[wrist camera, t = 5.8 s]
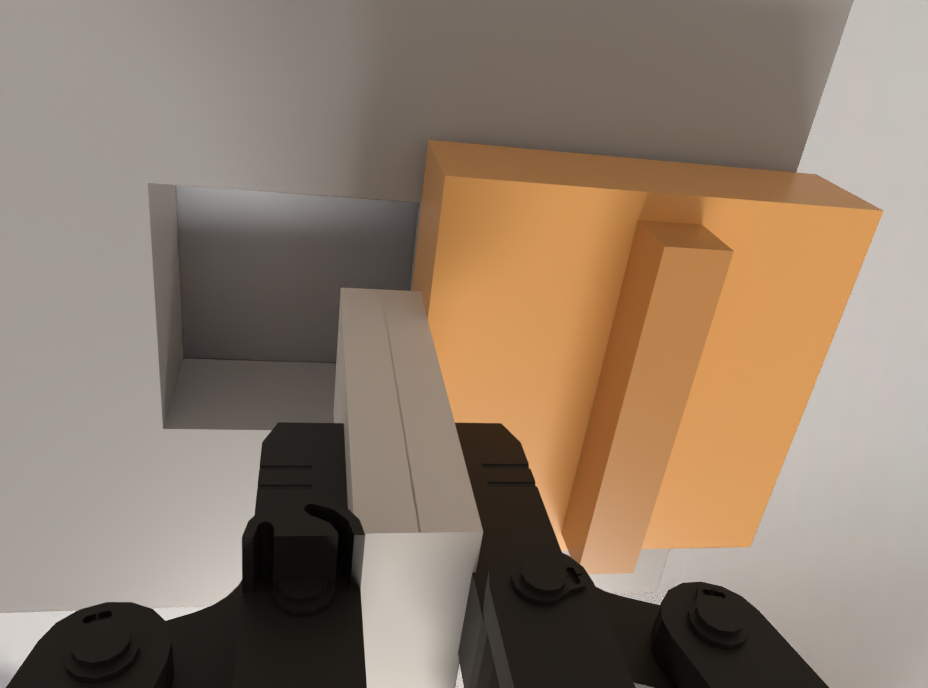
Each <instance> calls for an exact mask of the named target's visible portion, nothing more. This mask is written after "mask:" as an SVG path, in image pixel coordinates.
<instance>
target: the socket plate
mask: <svg viewBox="0 0 928 688" xmlns="http://www.w3.org/2000/svg"><path fill="white" fill-rule="evenodd" d="M852 3H853V0H0V613H14V612H45V611H77V610H80V609H83V608H87V607H91V606H94V605H98V604H102V603H105V602H133V603H136V604H139V605H142V606H145V607H148V608H171V607H203V606H212V605H214V604H215V603H217V602H219V601H220V600H222V599H223V598H225V597H227V596H228V595H229V594H230V593H231V592H232V591H233V590H234V589H235V588H236V587H237V586H238V585H239V584H240V582H241V581H242V535H243V533H244V531H245V528H246V526H247V523H248V521H249V520H250V519H251V518H252V517H253V516H254V515H255V505H256V496H257V489H258V477H259V470H260V458H261V448H262V442H263V441H264V439H265V438H266V437H267V436H268V434H269V433H270V432H271V431H272V429H273V428H274V427H275V426H276V424H277V423H278V422H291V423H334V394H335V377H336V363H313V362H279V361H246V360H212V359H183V337H182V314H181V292H180V269H179V247H178V225H177V202H176V185H182V186H196V187H210V188H224V189H238V190H251V191H265V192H279V193H293V194H307V195H320V196H334V197H348V198H362V199H376V200H389V201H403V202H417V203H419V207H418V217H417V226H416V235H415V245H414V254H413V264H412V273H411V283H410V291H412V285H413V275H414V266H415V257H416V247H417V238H418V229H419V219H420V210H421V201H422V192H423V182H424V173H425V164H426V154H427V145H428V140H436V141H447V142H458V143H469V144H481V145H492V146H503V147H514V148H525V149H537V150H548V151H559V152H570V153H581V154H593V155H604V156H615V157H626V158H638V159H649V160H660V161H671V162H682V163H694V164H705V165H716V166H727V167H738V168H750V169H761V170H772V171H783V172H794V173H796V171H797V168H798V165H799V162H800V159H801V156H802V153H803V150H804V147H805V144H806V141H807V138H808V135H809V132H810V129H811V126H812V123H813V120H814V117H815V114H816V111H817V108H818V105H819V102H820V99H821V96H822V93H823V90H824V87H825V84H826V81H827V78H828V75H829V72H830V69H831V66H832V63H833V60H834V57H835V54H836V51H837V48H838V45H839V42H840V39H841V36H842V33H843V30H844V27H845V24H846V21H847V18H848V15H849V12H850V9H851V6H852ZM669 551H670V549H641V551H640V555H639V558H638V561H637V564H636V567H635V571H634V573H622V574H588V575H589V576H590V578H591V579H592V581H593V582H594V585H595V586H596V587H598V588H600V589H602V590H604V591H606V592H609V593H644V592H656V590H657V587H658V584H659V581H660V578H661V575H662V572H663V569H664V566H665V563H666V560H667V557H668V554H669ZM562 553H564V554H566V555H569V556H570V554H569V552H568V551H562Z"/></svg>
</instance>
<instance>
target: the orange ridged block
mask: <svg viewBox="0 0 928 688" xmlns="http://www.w3.org/2000/svg"><path fill="white" fill-rule="evenodd" d="M882 213H883V210H881V209H879V208H877V207H875V206H874V205H872V204H870V203H868V202H866V201H864V200H862V199H861V198H859V197H857V196H855V195H853V194H851V193H850V192H848V191H846V190H844V189H842V188H840V187H838V186H837V185H835V184H833V183H831V182H829V181H827V180H826V179H824V178H822V177H820V176H818V175H816V174H806V173H794V172H783V171H772V170H761V169H750V168H738V167H727V166H716V165H705V164H694V163H682V162H671V161H660V160H649V159H638V158H626V157H615V156H604V155H593V154H581V153H570V152H559V151H548V150H537V149H525V148H514V147H503V146H492V145H481V144H469V143H458V142H447V141H436V140H428V145H427V154H426V164H425V173H424V182H423V192H422V201H421V210H420V219H419V229H418V238H417V247H416V257H415V266H414V275H413V285H412V291H420V292H421V296H422V300H423V304H424V308H425V311H426V315H427V319H428V323H429V327H430V330H431V334H432V338H433V342H434V346H435V350H436V353H437V357H438V361H439V365H440V369H441V372H442V376H443V380H444V384H445V388H446V392H447V395H448V399H449V403H450V407H451V411H452V414H453V418H454V422H455V423H501V424H502V425H503V426H505V427H506V428H507V429H508V430H509V431H510V432H511V433H512V434H513V435H514V436H515V437H516V438H517V439H518V440H519V441H520V442H521V444H522V447H523V450H524V452H525V455H526V458H527V461H528V463H529V468H530V469H531V471H532V474H533V477H534V479H535V486H536V487H538V490H539V493H540V495H541V498H542V501H543V503H544V506H545V509H546V511H547V514H548V517H549V519H550V522H551V525H552V527H553V530H554V533H555V535H556V538H557V541H558V543H559V546H560V549H561V551H568V552H569V554H570V557H571V558H572V559H574V560H575V561H576V562H578V563H579V564H580V565H581V566H583V567H584V569H585V570H586V572H587V573H588V574H622V573H634V571H635V567H636V564H637V561H638V558H639V555H640V551H641V549H670V548H721V547H750V546H751V543H752V541H753V538H754V536H755V533H756V531H757V528H758V526H759V523H760V521H761V518H762V516H763V513H764V511H765V508H766V506H767V503H768V501H769V498H770V496H771V493H772V490H773V488H774V485H775V483H776V480H777V478H778V475H779V473H780V470H781V468H782V465H783V463H784V460H785V458H786V455H787V453H788V450H789V448H790V445H791V443H792V440H793V438H794V435H795V433H796V430H797V427H798V425H799V422H800V420H801V417H802V415H803V412H804V410H805V407H806V405H807V402H808V400H809V397H810V395H811V392H812V390H813V387H814V385H815V382H816V380H817V377H818V375H819V372H820V370H821V367H822V364H823V362H824V359H825V357H826V354H827V352H828V349H829V347H830V344H831V342H832V339H833V337H834V334H835V332H836V329H837V327H838V324H839V322H840V319H841V317H842V314H843V312H844V309H845V307H846V304H847V301H848V299H849V296H850V294H851V291H852V289H853V286H854V284H855V281H856V279H857V276H858V274H859V271H860V269H861V266H862V264H863V261H864V259H865V256H866V254H867V251H868V249H869V246H870V243H871V241H872V238H873V236H874V233H875V231H876V228H877V226H878V223H879V221H880V218H881V216H882Z"/></svg>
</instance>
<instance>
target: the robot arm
mask: <svg viewBox="0 0 928 688" xmlns="http://www.w3.org/2000/svg"><path fill="white" fill-rule="evenodd" d="M459 663H460V667H461V673H462V678H463V683H464V688H829V687H828V686H827V685H826V684H825V683H824V682H823V680H822V679H821V678H820V677H819V676H818V675H817V674H816V673H815V672H814V671H813V670H812V668H811V667H810V666H809V665H808V664H807V663H806V662H805V661H804V660H803V659H802V657H801V656H800V655H799V654H798V653H797V652H796V651H795V650H794V649H793V648H792V647H791V645H790V644H789V643H788V642H787V641H786V640H785V639H784V638H783V637H782V636H781V634H780V633H779V632H778V631H777V630H776V629H775V628H774V627H773V626H772V625H771V624H770V622H769V621H768V620H767V619H766V618H765V617H764V616H763V615H762V614H761V613H760V611H758V610H757V609H756V608H755V607H754V606H753V605H751V604H750V603H749V602H748V601H747V600H745V599H744V598H743V597H742V596H740V595H738V594H736V593H734V592H732V591H730V590H728V589H726V588H724V587H722V586H717V585H713V584H708V583H704V582H691V583H682V584H680V585H678V586H676V587H674V588H672V589H670V590H668V592H667V594H666V595H665V597H664V599H663V600H662V602H661V605H656V604H652V603H647V602H643V601H639V600H635V599H630V598H626V597H622V596H618V595H615V594H612V593H609V592H606V591H604V590H602V589H600V588H598V587H596V586H595V585H594V582H593V581H592V579H591V578H590V576H589V575H588V573H587V572H586V570H585V569H584V567H583V566H581V565H580V564H579V563H578V562H576V561H575V560H574V559H572V558H571V557H570V556H569V555H566V554H564V553H562V551H561V549H560V546H559V543H558V541H557V538H556V535H555V533H554V530H553V527H552V525H551V522H550V519H549V517H548V514H547V511H546V509H545V506H544V503H543V501H542V498H541V495H540V493H539V490H538V487H536V486H535V479H534V477H533V474H532V471H531V469H530V468H529V463H528V461H527V458H526V455H525V452H524V450H523V447H522V444H521V442H520V441H519V440H518V439H517V438H516V437H515V436H514V435H513V434H512V433H511V432H510V431H509V430H508V429H507V428H506V427H505V426H503V425H502V424H501V423H455V422H454V418H453V414H452V411H451V407H450V403H449V399H448V395H447V392H446V388H445V384H444V380H443V376H442V372H441V369H440V365H439V361H438V357H437V353H436V350H435V346H434V342H433V338H432V334H431V330H430V327H429V323H428V319H427V315H426V311H425V308H424V304H423V300H422V296H421V292H420V291H403V290H382V289H361V288H341V291H340V308H339V325H338V343H337V360H336V377H335V394H334V423H291V422H278V423H277V424H276V426H275V427H274V428H273V429H272V431H271V432H270V433H269V434H268V436H267V437H266V438H265V439H264V441H263V442H262V448H261V458H260V470H259V477H258V489H257V496H256V505H255V515H254V516H253V517H252V518H251V519H250V520H249V521H248V523H247V526H246V528H245V531H244V533H243V535H242V581H241V582H240V584H239V585H238V586H237V587H236V588H235V589H234V590H233V591H232V592H231V593H230V594H229V595H228V596H227V597H225V598H223V599H222V600H220V601H219V602H217V603H215V604H214V605H212V606H210V607H207V608H205V609H202V610H200V611H197V612H194V613H191V614H188V615H184V616H181V617H178V618H174V619H171V620H167V621H165V620H164V619H163V618H162V617H160V616H159V615H158V614H157V613H156V612H155V611H154V610H153V609H151V608H148V607H145V606H142V605H139V604H136V603H133V602H105V603H102V604H98V605H94V606H91V607H87V608H83V609H80V610H78V611H76V612H75V613H73V614H71V615H69V616H68V617H66V618H64V619H62V620H61V621H59V622H57V623H56V624H55V625H54V626H53V627H52V628H51V629H50V630H49V631H48V632H47V633H46V634H45V635H44V636H43V637H42V638H41V639H40V640H39V641H38V642H37V644H36V645H35V647H34V648H33V650H32V651H31V652H30V654H29V655H28V657H27V658H26V660H25V661H24V662H23V664H22V665H21V667H20V668H19V670H18V671H17V673H16V674H15V675H14V677H13V678H12V680H11V681H10V683H9V684H8V685H7V687H6V688H455V685H456V679H457V674H458V668H459Z"/></svg>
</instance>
